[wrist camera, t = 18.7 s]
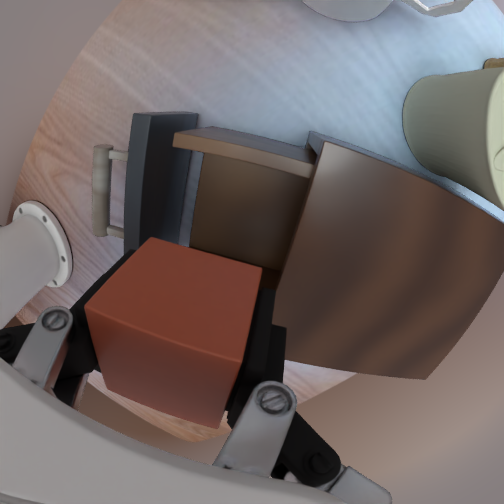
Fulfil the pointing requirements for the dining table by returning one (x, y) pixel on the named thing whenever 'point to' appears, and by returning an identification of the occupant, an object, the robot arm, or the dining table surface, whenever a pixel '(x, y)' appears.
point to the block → (174, 329)
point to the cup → (377, 8)
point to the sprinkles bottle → (494, 63)
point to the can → (460, 129)
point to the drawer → (206, 190)
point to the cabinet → (383, 266)
